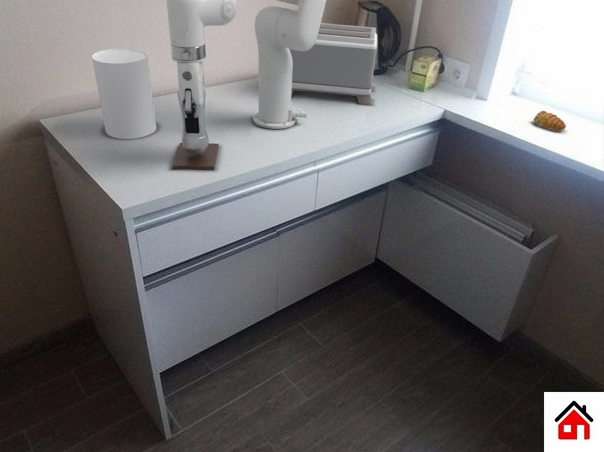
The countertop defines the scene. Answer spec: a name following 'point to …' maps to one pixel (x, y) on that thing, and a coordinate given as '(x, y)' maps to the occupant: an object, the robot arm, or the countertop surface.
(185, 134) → the silver bottle
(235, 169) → the countertop surface
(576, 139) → the countertop surface
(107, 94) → the canister
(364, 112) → the countertop surface
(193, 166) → the walnut board
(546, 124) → the pastry
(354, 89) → the toaster
